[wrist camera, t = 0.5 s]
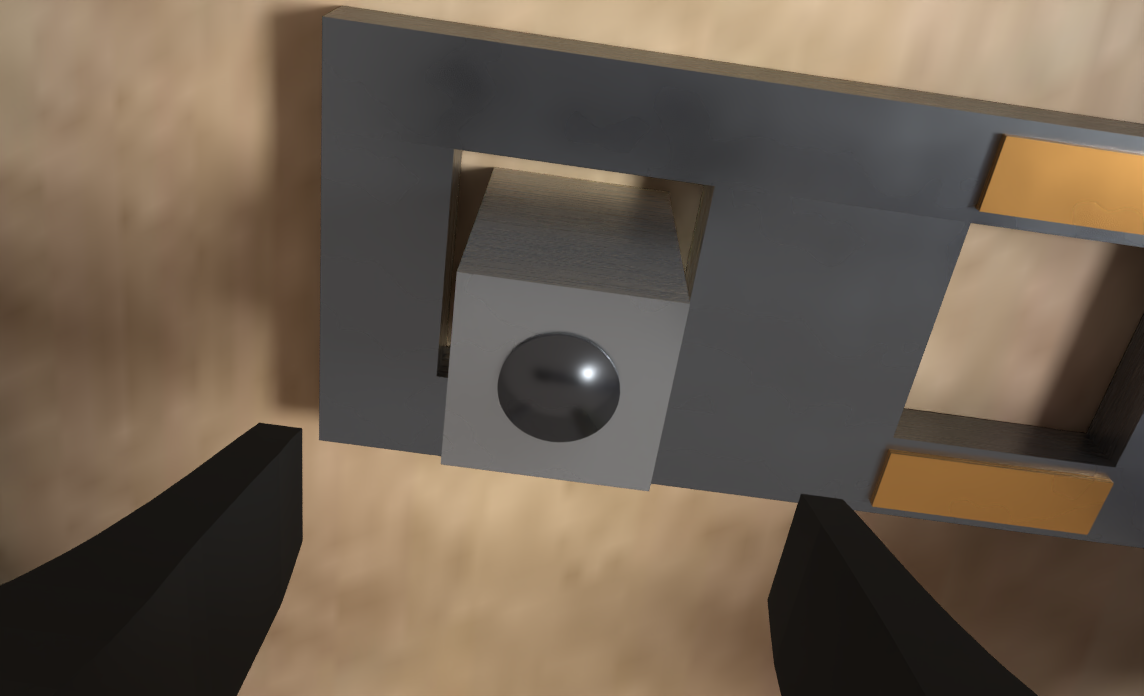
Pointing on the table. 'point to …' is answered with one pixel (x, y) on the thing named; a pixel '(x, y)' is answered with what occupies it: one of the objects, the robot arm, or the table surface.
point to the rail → (732, 260)
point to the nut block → (565, 331)
